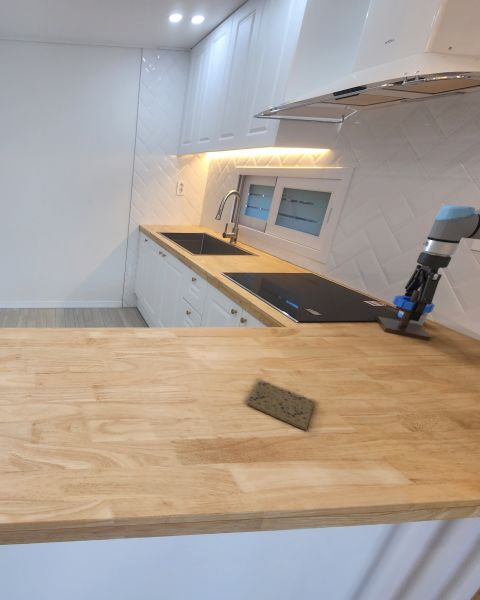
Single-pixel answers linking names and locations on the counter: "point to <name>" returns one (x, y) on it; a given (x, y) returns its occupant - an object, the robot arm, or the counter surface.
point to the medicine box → (415, 321)
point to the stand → (404, 323)
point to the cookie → (282, 404)
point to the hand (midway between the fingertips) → (407, 314)
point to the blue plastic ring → (410, 303)
